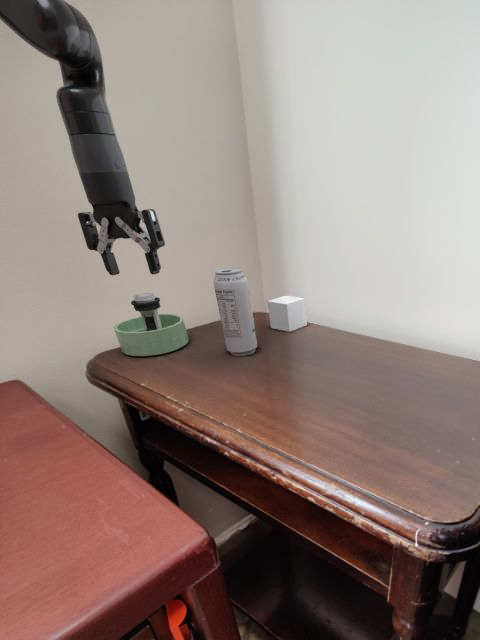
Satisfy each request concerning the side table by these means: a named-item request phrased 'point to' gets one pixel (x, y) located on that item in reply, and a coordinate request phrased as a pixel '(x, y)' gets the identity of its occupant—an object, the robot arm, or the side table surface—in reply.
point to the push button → (148, 310)
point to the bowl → (151, 336)
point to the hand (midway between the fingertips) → (135, 274)
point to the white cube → (287, 313)
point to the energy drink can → (235, 311)
